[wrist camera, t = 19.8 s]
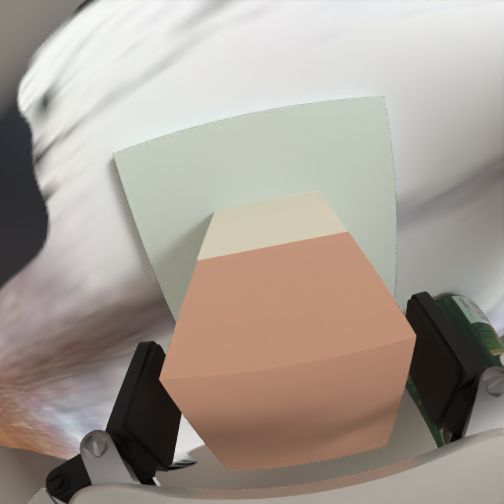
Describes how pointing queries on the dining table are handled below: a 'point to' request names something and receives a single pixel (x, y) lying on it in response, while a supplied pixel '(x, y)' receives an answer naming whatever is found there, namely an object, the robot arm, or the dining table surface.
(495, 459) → the robot arm
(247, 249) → the cream block
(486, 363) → the coffee jar
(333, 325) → the terracotta block
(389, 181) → the board
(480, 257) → the dining table surface
